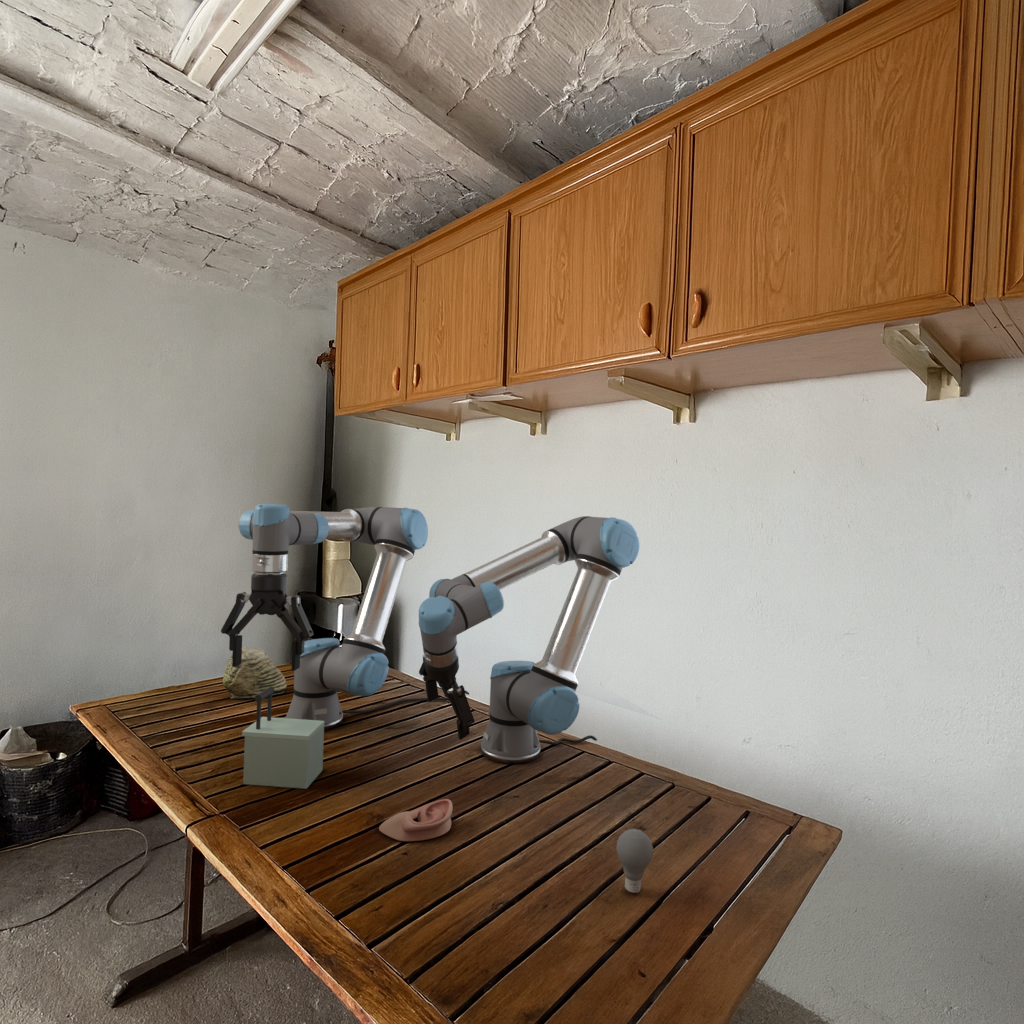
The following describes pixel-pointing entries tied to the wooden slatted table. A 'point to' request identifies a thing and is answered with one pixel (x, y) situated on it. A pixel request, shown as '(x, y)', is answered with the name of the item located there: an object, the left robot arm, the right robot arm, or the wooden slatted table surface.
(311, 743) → the chest
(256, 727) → the lid
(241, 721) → the wooden slatted table surface
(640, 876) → the light bulb
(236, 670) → the fossil
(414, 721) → the wooden slatted table surface
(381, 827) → the anatomical model
